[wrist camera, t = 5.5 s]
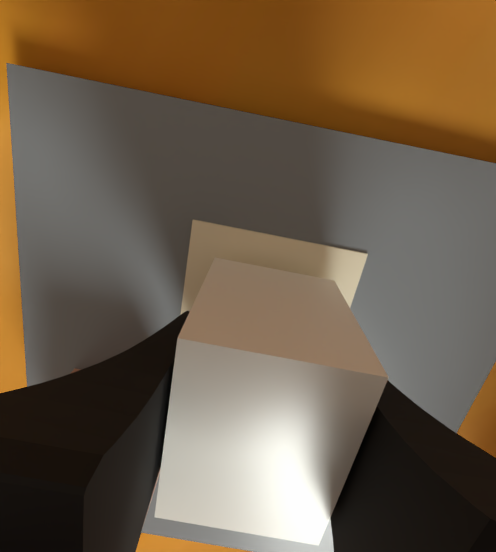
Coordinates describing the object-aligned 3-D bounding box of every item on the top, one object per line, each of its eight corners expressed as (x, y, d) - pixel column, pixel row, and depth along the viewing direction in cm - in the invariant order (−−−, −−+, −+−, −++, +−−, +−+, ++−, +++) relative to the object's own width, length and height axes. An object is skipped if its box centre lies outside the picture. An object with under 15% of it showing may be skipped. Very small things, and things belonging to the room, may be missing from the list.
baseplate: (569, 181, 11) (596, 183, 10) (375, 555, 18) (380, 575, 17) (24, 69, 10) (4, 62, 10) (45, 498, 17) (34, 516, 17)
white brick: (334, 280, 11) (388, 377, 6) (298, 399, 13) (319, 545, 8) (214, 257, 11) (177, 338, 6) (195, 380, 12) (154, 517, 8)
